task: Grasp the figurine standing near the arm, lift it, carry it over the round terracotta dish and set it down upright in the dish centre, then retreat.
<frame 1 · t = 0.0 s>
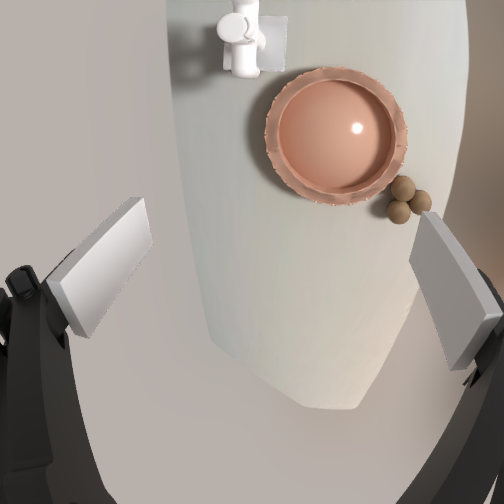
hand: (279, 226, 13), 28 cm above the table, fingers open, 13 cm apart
wooden beads: (403, 196, 39), on the table
dish: (336, 134, 36), on the table
figurine: (259, 45, 31), on the table
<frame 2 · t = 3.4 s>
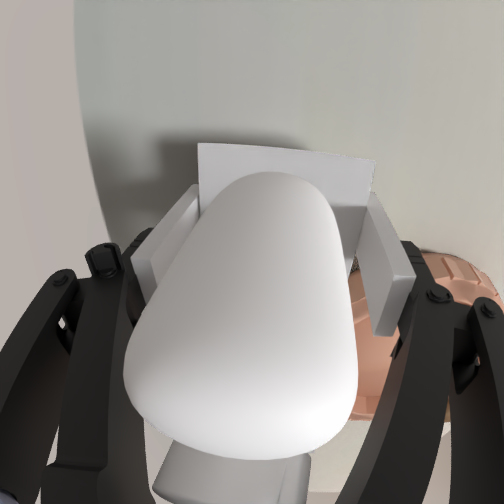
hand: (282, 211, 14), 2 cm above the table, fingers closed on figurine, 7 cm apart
dish: (398, 344, 21), on the table
figurine: (284, 194, 16), on the table, touching gripper
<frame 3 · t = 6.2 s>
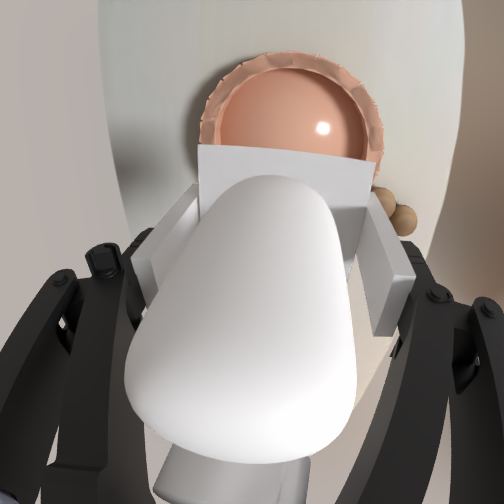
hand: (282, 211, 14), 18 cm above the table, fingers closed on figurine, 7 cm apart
wooden beads: (382, 212, 32), on the table
dish: (292, 137, 29), on the table
figurine: (284, 195, 16), point 16 cm above the table, touching gripper
when the fingers open (4 cm above the table, at t = 9.4 s): figurine drops 2 cm, resting on dish.
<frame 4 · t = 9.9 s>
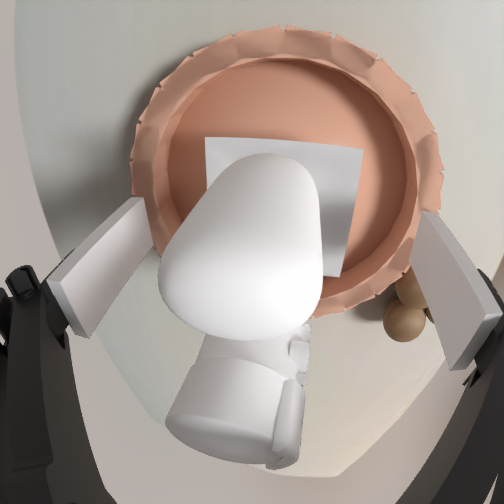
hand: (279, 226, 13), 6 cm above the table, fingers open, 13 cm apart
wooden beads: (417, 288, 21), on the table
dish: (286, 180, 18), on the table
figurine: (284, 184, 18), point 1 cm above the table, touching dish
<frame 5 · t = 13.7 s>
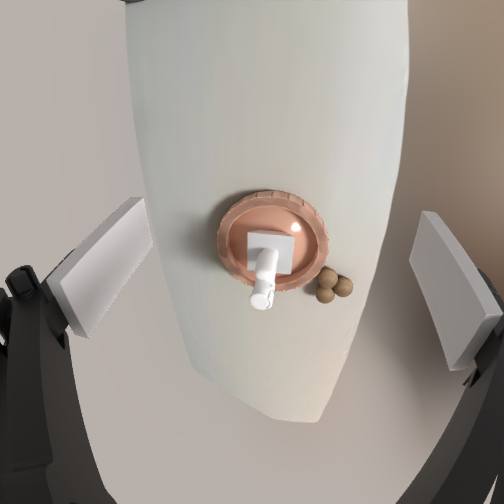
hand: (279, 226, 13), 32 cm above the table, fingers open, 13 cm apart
wooden beads: (331, 280, 54), on the table
dish: (273, 239, 51), on the table
figurine: (272, 241, 50), point 1 cm above the table, touching dish
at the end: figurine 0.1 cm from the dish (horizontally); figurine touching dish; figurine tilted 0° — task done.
